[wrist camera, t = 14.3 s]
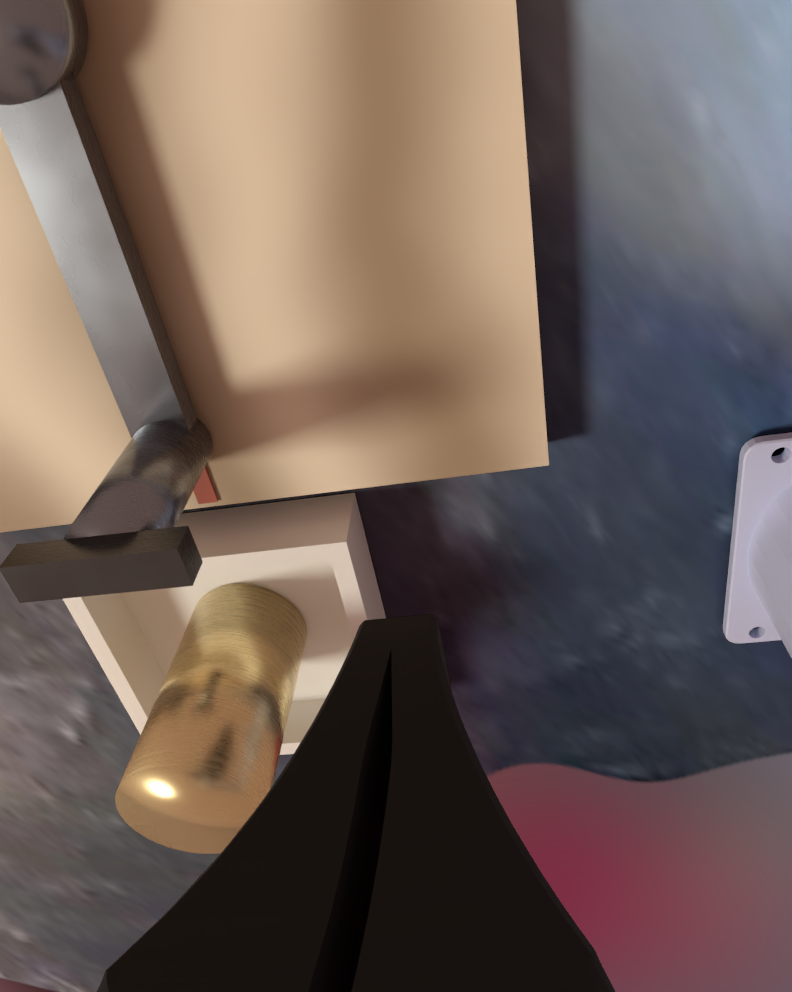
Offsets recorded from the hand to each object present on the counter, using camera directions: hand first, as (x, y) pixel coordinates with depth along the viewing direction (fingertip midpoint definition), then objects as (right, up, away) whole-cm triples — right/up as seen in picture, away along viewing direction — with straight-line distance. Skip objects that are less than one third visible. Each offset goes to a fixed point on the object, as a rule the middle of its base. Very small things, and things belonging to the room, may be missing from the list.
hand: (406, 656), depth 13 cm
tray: (-5, -1, +13) cm, 14 cm away
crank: (-7, +9, +4) cm, 12 cm away
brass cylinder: (-5, -2, +12) cm, 13 cm away
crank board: (-6, +10, +5) cm, 13 cm away
